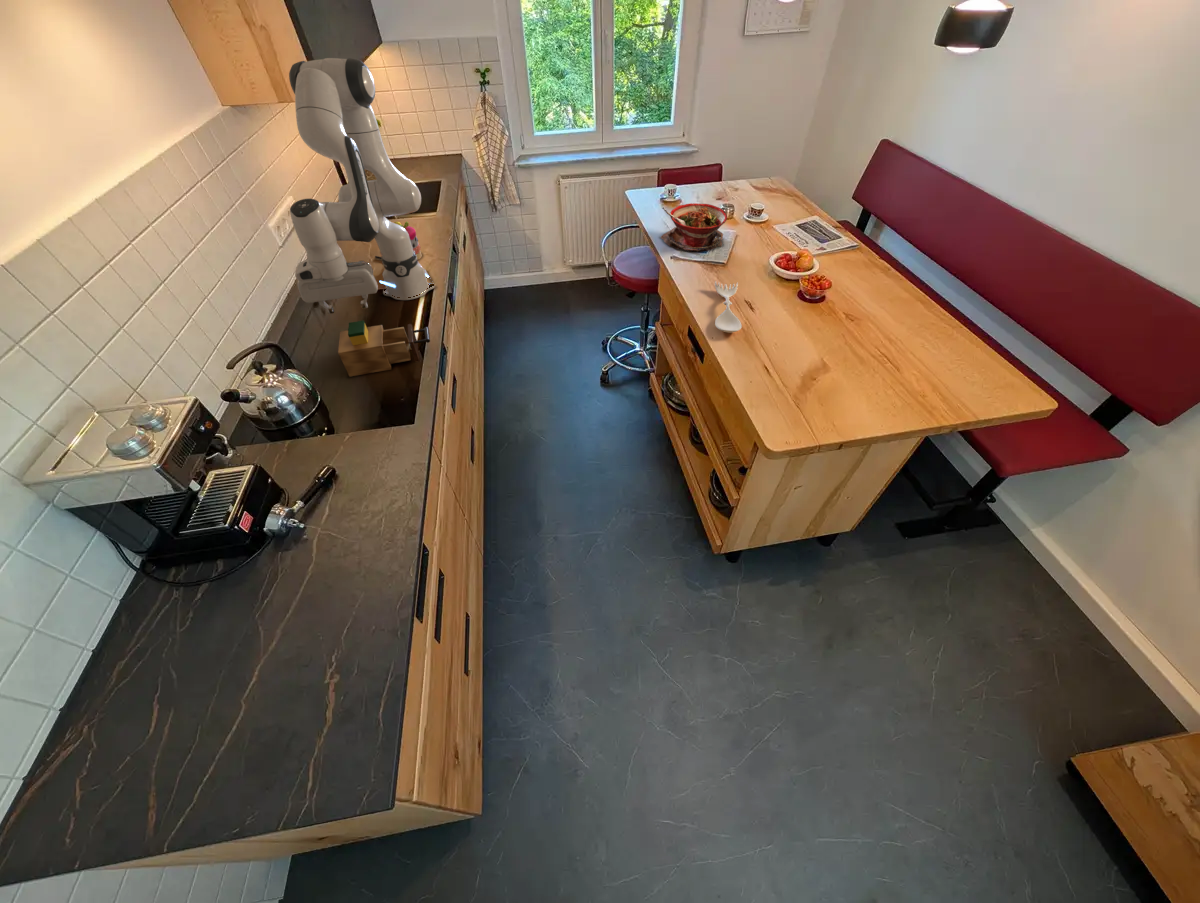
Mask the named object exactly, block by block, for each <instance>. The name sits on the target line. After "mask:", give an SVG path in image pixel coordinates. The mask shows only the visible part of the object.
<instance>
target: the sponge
mask: <svg viewBox="0 0 1200 903" xmlns="http://www.w3.org/2000/svg"><path fill="white" fill-rule="evenodd" d="M367 327H368V326H367V325H366V322H365V320H357V321H351V322H348V328H347V330H348V336H349V338H350V340H351V343H352V345H359V344H365V343H368V329H367Z"/></svg>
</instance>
